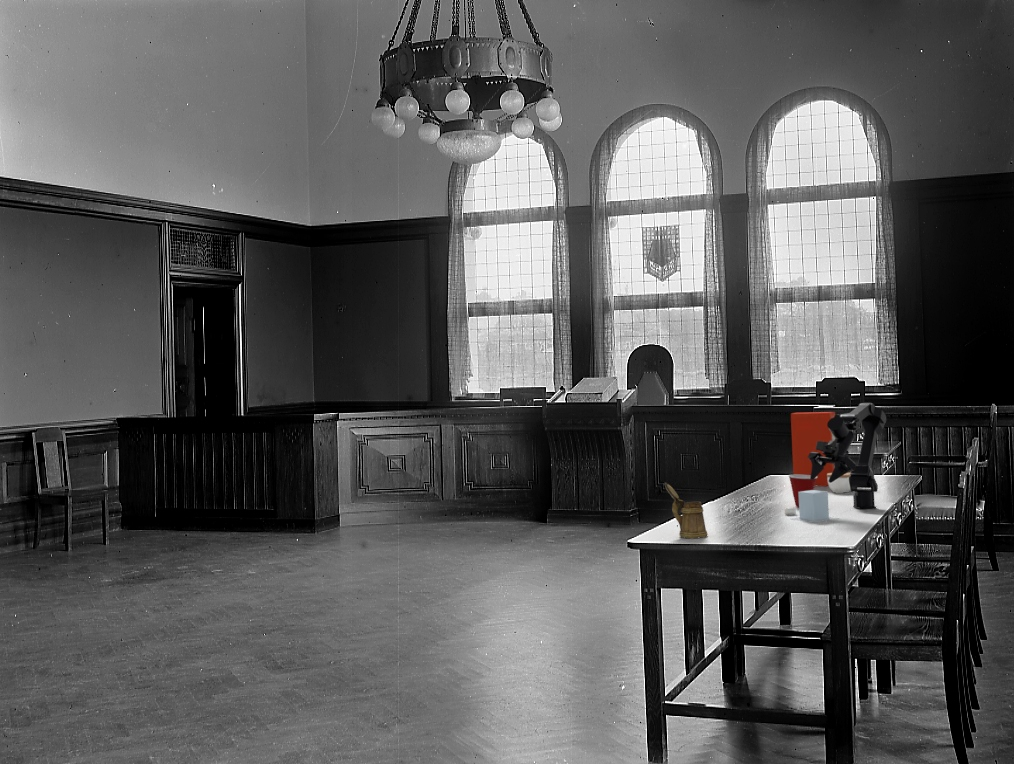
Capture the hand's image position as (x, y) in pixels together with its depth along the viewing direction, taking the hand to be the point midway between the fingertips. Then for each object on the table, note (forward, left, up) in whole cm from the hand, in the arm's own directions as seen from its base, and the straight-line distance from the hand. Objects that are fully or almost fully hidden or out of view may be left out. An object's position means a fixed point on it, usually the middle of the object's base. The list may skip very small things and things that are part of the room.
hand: (820, 480), depth 387 cm
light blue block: (+5, +4, -13) cm, 14 cm away
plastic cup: (-4, -30, -13) cm, 33 cm away
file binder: (-32, -91, -13) cm, 97 cm away
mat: (+5, +4, -13) cm, 15 cm away
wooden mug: (+55, +21, -13) cm, 60 cm away
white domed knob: (+9, -8, -13) cm, 18 cm away
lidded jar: (-32, -63, -13) cm, 72 cm away
